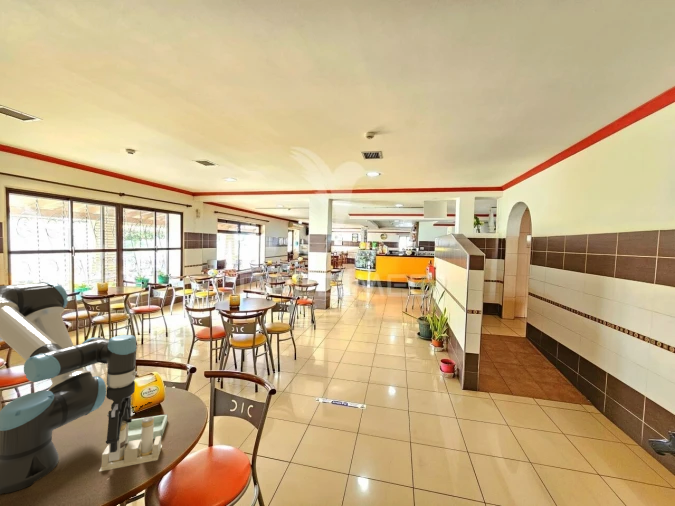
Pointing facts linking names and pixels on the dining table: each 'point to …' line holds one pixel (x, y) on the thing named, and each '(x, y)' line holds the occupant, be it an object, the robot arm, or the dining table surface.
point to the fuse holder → (131, 455)
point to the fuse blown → (122, 440)
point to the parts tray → (136, 427)
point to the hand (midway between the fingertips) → (118, 451)
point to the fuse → (147, 436)
